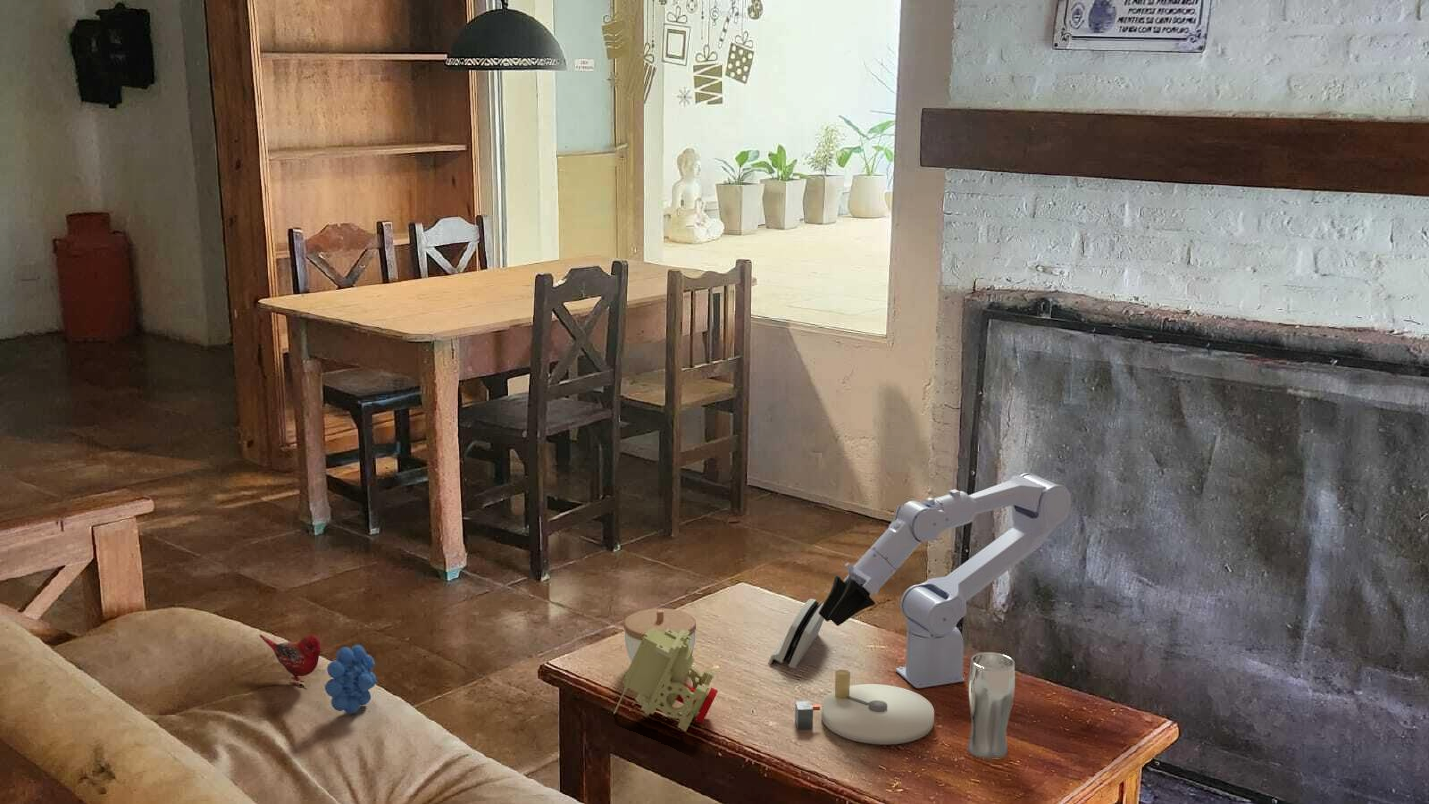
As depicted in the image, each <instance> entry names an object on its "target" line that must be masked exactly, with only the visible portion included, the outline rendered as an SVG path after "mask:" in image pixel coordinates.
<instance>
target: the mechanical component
mask: <svg viewBox="0 0 1429 804" xmlns="http://www.w3.org/2000/svg"><path fill="white" fill-rule="evenodd" d="M689 633H690V631H688V630H686V631H685V630H683V629H681V631H680V632H679V634H678V633H676V632H674V631H672V630H670V629H668V628H667V630H666V631H665V633H662V632H660V631H658V630H656V629H654V628H652V629H651V628H649V629H648V631H647V633H646V634H645V636H644V637H643V639H642V642H641V643H640V646H639V648H638V650H637V652H636V654H635V656H634V658H633V661H631V663H630V664H629V666H628V669H627V671H626V674H625V676H624V678H623V680H622V681H621V683H623V687H624V688H623V693H622V694H621V696H620V699H619V701H618V702H617V705H616V706H615V709H614V711H613V715H615V714H616V713H617V711H618V708H619V706H620V704H621V701H622V699H623V697H624V696H625V693H626V692H627V690H628V689H629V690H632V691H634V692H636V693H637V695H636V697H635V701H636V702H637V703H638V704H640V705H641V708H640V709H641V711H643V712H644V714H645V715H647V716H650V714H652V715H654V714H655V712H656V710H657V709H658V710H660V711H661V712H662V713H663V714H664V715H665V716H666V717H669V718H672V719H675V720H676V719H678V720H679V723H678V725H677V728H679V729H681V730H682V731H683V732H687V730H688V728H689V726H690V725H691V722H692V720H693V718H694V717H695V719H694V721H695V722H697V723H698V724H701V725H702V724H703V722H704V721H705V719H706V716H707V715H708V712H709V710H710V708H711V706H712V704H713V702H714V700H715V698H716V696H717V694H718V690H717V689H715V688H713V687H710V688H709V685H710V683H711V682H712V679H713V677H714V676H715V671H713V670H710V669H708V668H705V670H704V672H703V674H701V673H700V672H699V671H698V670H697V668H694V667H693V664H694V661H695V659H694V656H693V653H694V649H693V648H691V647H689V646H688V643H689V641H690V639H691V637H690V636H688V635H689ZM687 677H688V678H690V680H691V682H692V686H690V685H688V684H686V683H684V682H685V680H686V678H687ZM675 701H677V702H678V703H681V704H682V705H681V706H680V707H674V706H673V704H674V702H675Z"/></svg>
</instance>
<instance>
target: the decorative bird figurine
mask: <svg viewBox="0 0 1429 804" xmlns="http://www.w3.org/2000/svg"><path fill="white" fill-rule="evenodd" d="M259 637H260V638H261V640H263V642H264V643H266V644H267V646H269V647H270V648H271V649H272V651H273V652H274V654H275V656H276V659H277V661H278V662H279V663H280V664H281V665H282V666H283V668H285V669H286V670H287V672H288V673H290V674H292V677H291V678H290V679H291V680H296V681H300V682H305V681H303V680H302V679H301V678H300V677H305V676H308V675H310V674H312V673H313V672H314V671H315V670H316V668H317V666H318V663H319V660H320V659H319V658H320V655H321V653H322V652H323V650H322V647H321V642H320V640H319V638H318V637H317V636H316V635H313V634H311V635H310V634H309V635H307V636H304V637H303V638H302V639H301V640H300V641H286V642H285V641H284V642H282V643H278V644H277V643H276V642H274V641H272V640H271V639H269V638H267V637H266V636H264V635H262V634H259ZM301 680H302V681H301Z"/></svg>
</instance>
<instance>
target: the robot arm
mask: <svg viewBox="0 0 1429 804" xmlns="http://www.w3.org/2000/svg"><path fill="white" fill-rule="evenodd" d="M948 491H949V492H948V494H945V495H941V496H938V497H934V498H932V497H927V498H925V501H923V502H919V501H917V500H909V501H908V502H906V503H904V504H902V505H901V504H899V505H898V506H897V508H896V510H895V513H894V516H893V520H892V521H891V523H890V524H889V525H888V528H887V529H886V530H885V531H884V533H883V534H881V536H879V538H877V540H876V541H875V542H874V543H873V544H872V545H871V547H870V548H869V549H868V550H867V551H866V552H865V553H864V554H863V555H862V556H861V557H860V558H859V560H857V562H856V563H855V564H854V565H852V564H851V563H849V562H846V563H845V565H844V567H845V568H846V569H847V570H848V574H847V576H846V577H845V578H844V579H842V578H841V577H840V576H838V575H836V576H835V577H834V580H833V583H832V587H831V590H830V591H829V594H828V595H827V597H826V599H825V601H824V602H823V603H824V604H823V603H822V604H823V606H822V607H821V609H820V611H819V614H820V615H821V616H822V617H823V618H824V621H826V622H833V624H835V626H837V627H839V626H841V625H842V624H844V623H845V622H846V621H848V620H849V619H851V618H852V617H853V616H855V615H856V614H858V613H859V612H862V611H863V610H865V609H867V608H869V607H872V606H874V605H876V602H875V600H873V599H872V598H871V597H870V596H871V595H873V596H876V595H877V594H878V593H879V590H880V589H881V588H882V587H883V586H884V584H885V583H886V582H888V580H889V579H890V578H891V577H892V576H893V575H894V574H895V572H897V570H899V568H900V567H901V566H902V565H903V563H904V562H905V561H906V560H907V559H908V558H909V557H910V556H911V555H912V554H913V553H914V552H915V550H916V549H917V548H918V547H919V546H920V545H922V543H923V542H924V543H927V542H933V541H935V540H936V539H937V538H938V537H939V536H940V534H941V533H943V532H945V531H948V530H951V529H955V528H957V527H962V526H964V525H965V526H966V525H967V524H970V523H971V522H973V521H974V519H975V517H976V515H977V514H981V513H987V512H991V511H995V510H998V509H1004V508H1007V507H1011V516H1012V517H1011V518H1012V521H1013V526H1012V527H1011V528H1010V529H1008V530H1006V532H1004V533H1003V534H1001V535H1000V536H999V537H997V538H996V539H995V540H993V541H992V542H990V543H988V545H987V546H986V547H984V548H982V549H981V550H980V551H979V552H977V553H976V554H974V555H973V556H972V557H970V558H969V559H968V560H966V561H965V562H964V563H962V564H961V565H960V566H958V567H957V568H956V569H954V570H953V571H951V572H950V573H949V574H947V575H946V576H940V577H933V578H929V579H927V580H925V581H924V582H922V583H919V584H914V585H911V586H910V587H908V588H907V589H906V590H905V591H904V592H903V594H902V596H901V597H900V598H901V599H900V602H899V604H900V610H901V612H902V614H903V615H904V616H905V617H906V619H905V620H906V621H905V622H906V626H907V628H906V629H907V630H906V649H905V650H906V653H905V666H901V667H897V668H895V672H896V673H898V674H899V675H900V676H901V677H903V679H905V680H906V681H907V682H909V683H910V684H911V685H912V686H913V687H914V688H915V689H923V688H929V687H935V686H942V685H947V684H950V685H951V684H954V683H962V682H964V681H965V678H964V677H963V672H964V671H963V667H964V653H965V652H964V651H965V650H964V647H965V644H964V639H963V635H962V632H961V631H960V630H959V628H958V627H957V624H958V623H959V621H961V619H963V617H965V616H966V615H967V611H968V609H967V602H968V601H970V599H972V598H973V597H974V596H976V595H977V594H978V593H980V592H981V591H982V590H984V589H985V588H986V587H988V586H989V585H990V584H992V583H993V582H995V581H996V580H997V579H999V577H1001V576H1003V575H1004V574H1005V573H1006V572H1008V571H1009V570H1010V569H1012V568H1013V567H1014V566H1015V565H1018V564H1019V563H1020V562H1022V561H1023V560H1024V559H1025V558H1026V557H1028V556H1029V555H1031V554H1032V553H1034V552H1035V551H1036V550H1038V549H1039V548H1040V547H1041V546H1042V545H1043V544H1044V543H1045V542H1046V540H1047V538H1048V537H1049V536H1050V534H1051V533H1052V531H1053V530H1054V529H1055V527H1057V526H1058V525H1059V524H1061V523H1062V522H1063V521H1065V520H1066V519H1068V517H1069V513H1070V507H1071V503H1072V502H1071V501H1072V497H1071V496H1072V495H1071V493H1070V491H1069V489H1068V488H1067V487H1065V486H1063V485H1061V484H1057V483H1055V482H1052V481H1050V480H1047V479H1045V478H1042V477H1039V476H1038V475H1036V474H1034V473H1032V472H1024V473H1022V474H1018V475H1013V476H1012V477H1010V479H1009V480H1007V481H1003V482H1002V483H999V484H996V485H993V486H990V487H988V488H985V489H983V490H980V491H976V492H974V493H972V494H968V493H967V492H964V491H962V490H957V489H955V488H954V489H950V490H948Z"/></svg>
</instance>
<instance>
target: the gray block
mask: <svg viewBox="0 0 1429 804" xmlns="http://www.w3.org/2000/svg"><path fill="white" fill-rule="evenodd" d="M794 708H795V709H794V711H795V714H794V722H795V725H796V730H798V731H801V730H802V731H803V730H804V731H805V730H810V731H811V730H813V726H814V725H813V724H814V723H813V722H814V711H820V710H821V706H820V705H819V704H818V705H817V704H814V705H812V702H811V700H798V701H797V700H795V706H794Z"/></svg>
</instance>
